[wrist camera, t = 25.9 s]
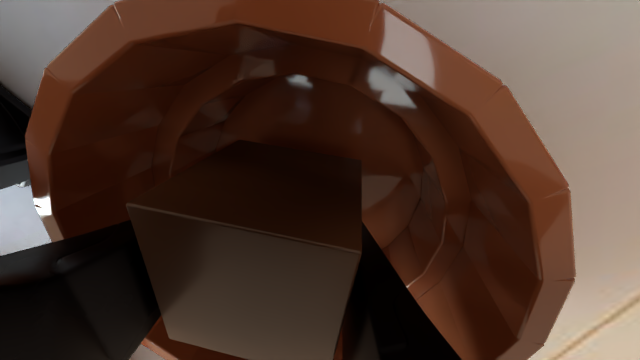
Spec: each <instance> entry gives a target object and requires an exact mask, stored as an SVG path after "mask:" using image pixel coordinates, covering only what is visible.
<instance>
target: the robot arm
mask: <svg viewBox="0 0 640 360" xmlns="http://www.w3.org/2000/svg"><path fill="white" fill-rule="evenodd" d="M31 112H32V110H31V109H29V108H28V107H27V106H25V105H24V104H23V103H22V102H20V101H19V100H18V99H17V98H15V97H14V96H13V95H12V94H10V93H9V92H8V91H7V90H5V89H4V88H3V87H2V86H0V189H3V188H6V187H9V186H12V185H16V186H18V187H21V188H23V187H26V186H29V185H31V181H30V174H29V167H28V160H27V153H26V146H25V139H26V138H25V137H24V136H25V133H26V130H27V126H28V123H29V119H30V116H31ZM160 316H161V312H160V309H159V306H158V303H157V300H156V297H155V294H154V291H153V288H152V284H151V281H150V278H149V275H148V272H147V269H146V266H145V263H144V260H143V257H142V254H141V250H140V247H139V244H138V241H137V238H136V235H135V232H134V229H133V226H132V223H131V220H128V221H124V222H121V223H119V224H115V225H111V226H108V227H105V228H102V229H98V230H95V231H92V232H88V233H85V234H81V235H78V236H74V237H71V238H67V239H63V240H60V241H56V242H52V243H48V244H45V245H41V246H37V247H33V248H29V249H26V250H22V251H18V252H14V253H11V254H7V255H3V256H0V360H129V359H130V357H131V356H132V355H133V353H134V352H135V351H136V349H137V348H138V346H139V345H140V344H141V342H142V341H143V340H144V338H145V337H146V335H147V334H148V333H149V331H150V330H151V329H152V327H153V326H154V324H155V323H156V322H157V320H158V319H159V318H160ZM342 360H462V359H461V358H460V357H459V355H458V354H457V353H456V352H455V350H454V349H453V348H452V347H451V345H450V344H449V343H448V342H447V340H446V339H445V338H444V337H443V336H442V334H441V333H440V332H439V331H438V329H437V328H436V327H435V325H434V324H433V323H432V322H431V320H430V319H429V318H428V316H427V315H426V314H425V313H424V311H423V310H422V308H421V307H420V306H419V304H418V303H417V301H416V300H415V299H414V297H413V296H412V294H411V293H410V291H409V290H408V288H407V287H405V284H404V282H403V281H402V279H401V278H400V277H399V275H398V274H397V272H396V271H395V269H394V268H393V266H392V265H391V263H390V262H389V260H388V259H387V257H386V256H385V254H384V253H383V251H382V250H381V248H380V247H379V245H378V244H377V242H376V241H375V239H374V238H373V236H372V235H371V233H370V232H369V230H368V229H367V227H366V226H365V224H364V223H363V221H362V255H361V259H360V262H359V266H358V270H357V273H356V277H355V281H354V284H353V288H352V292H351V296H350V299H349V303H348V307H347V310H346V314H345V318H344V321H343V325H342Z"/></svg>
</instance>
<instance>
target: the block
mask: <svg viewBox="0 0 640 360" xmlns="http://www.w3.org/2000/svg"><path fill="white" fill-rule="evenodd" d="M126 207H127V210H128V213H129V217H130V220H131V223H132V226H133V229H134V232H135V235H136V238H137V241H138V244H139V247H140V250H141V254H142V257H143V260H144V263H145V266H146V269H147V272H148V275H149V278H150V281H151V284H152V288H153V291H154V294H155V297H156V300H157V303H158V306H159V309H160V312H161V315H162V318H163V321H164V325H165V328H166V331H167V334H168V337H169V339H172V340H176V341H180V342H184V343H188V344H191V345H195V346H199V347H203V348H207V349H210V350H214V351H218V352H222V353H226V354H229V355H233V356H237V357H241V358H244V359H248V360H333V358H334V355H335V351H336V347H337V343H338V340H339V336H340V332H341V329H342V325H343V321H344V318H345V314H346V310H347V307H348V303H349V299H350V296H351V292H352V288H353V284H354V281H355V277H356V273H357V270H358V266H359V262H360V259H361V255H362V161H361V160H357V159H352V158H346V157H340V156H334V155H328V154H322V153H316V152H310V151H304V150H298V149H292V148H286V147H281V146H275V145H269V144H263V143H257V142H251V141H245V140H237V141H236V142H234V143H232V144H230V145H229V146H227V147H225V148H223V149H221V150H220V151H218V152H216V153H214V154H213V155H211V156H209V157H207V158H206V159H204V160H202V161H200V162H199V163H197V164H195V165H193V166H191V167H190V168H188V169H186V170H184V171H183V172H181V173H179V174H177V175H176V176H174V177H172V178H170V179H168V180H167V181H165V182H163V183H161V184H160V185H158V186H156V187H154V188H153V189H151V190H149V191H147V192H145V193H144V194H142V195H140V196H138V197H137V198H135V199H133V200H131V201H130V202H128V203H127V204H126Z"/></svg>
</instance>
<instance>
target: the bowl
mask: <svg viewBox="0 0 640 360" xmlns="http://www.w3.org/2000/svg"><path fill="white" fill-rule="evenodd" d="M502 84H503V83H502V81H501V80H500V79H499V78H497V77H496V76H494V75H493V74H491V73H490V72H488V71H487V70H485V69H483V68H482V67H480V66H479V65H477V64H476V63H474V62H473V61H471V60H470V59H468V58H467V57H465V56H464V55H462V54H461V53H459V52H458V51H456V50H455V49H453V48H452V47H450V46H449V45H447V44H446V43H444V42H443V41H441V40H440V39H438V38H437V37H435V36H434V35H432V34H431V33H429V32H428V31H426V30H425V29H423V28H422V27H420V26H419V25H417V24H416V23H414V22H413V21H411V20H410V19H408V18H407V17H405V16H404V15H402V14H401V13H399V12H398V11H396V10H395V9H393V8H392V7H390V6H388V5H387V4H385V3H380V4H379V1H378V0H120V1H116V2H114V5H110V6H108V7H107V8H106V9H105V10H104V11H103V12H102V13H101V14H100V15H99V16H98V17H97V18H96V19H95V20H94V21H93V22H92V23H91V24H90V25H88V26H87V27H86V28H85V29H84V30H83V31H82V32H81V33H80V34H79V35H78V36H77V37H76V38H75V39H74V40H73V41H72V42H71V43H70V44H69V45H68V46H66V47H65V48H64V49H63V50H62V51H61V52H60V53H59V54H58V55H57V56H56V57H55V58H54V59H53V60H52V61H51V62H50V63H49V64H48V65H47V68H45V69H44V71H43V74H42V78H41V81H40V85H39V88H38V92H37V95H36V99H35V102H34V105H33V109H32V112H31V116H30V119H29V123H28V126H27V130H26V133H25V136H24V137H25V138H26V139H25V146H26V153H27V160H28V167H29V174H30V181H31V188H32V195H33V202H34V204H35V208H36V210H37V212H38V214H39V216H40V218H41V220H42V222H43V224H44V226H45V228H46V231H47V233H48V235H49V237H50V239H51V241H52V242H56V241H60V240H63V239H67V238H71V237H74V236H78V235H81V234H85V233H88V232H92V231H95V230H98V229H102V228H105V227H108V226H111V225H115V224H119V223H121V222H124V221H128V220H130V217H129V213H128V210H127V207H126V204H127V203H128V202H130V201H131V200H133V199H135V198H137V197H138V196H140V195H142V194H144V193H145V192H147V191H149V190H151V189H153V188H154V187H156V186H158V185H160V184H161V183H163V182H165V181H167V180H168V179H170V178H172V177H174V176H176V175H177V174H179V173H181V172H183V171H184V170H186V169H188V168H190V167H191V166H193V165H195V164H197V163H199V162H200V161H202V160H204V159H206V158H207V157H209V156H211V155H213V154H214V153H216V152H218V151H220V150H221V149H223V148H225V147H227V146H229V145H230V144H232V143H234V142H236V141H237V140H245V141H251V142H257V143H263V144H269V145H275V146H281V147H286V148H292V149H298V150H304V151H310V152H316V153H322V154H328V155H334V156H340V157H346V158H352V159H357V160H361V161H362V221H363V223H364V224H365V226H366V227H367V229H368V230H369V232H370V233H371V235H372V236H373V238H374V239H375V241H376V242H377V244H378V245H379V247H380V248H381V250H382V251H383V253H384V254H385V256H386V257H387V259H388V260H389V262H390V263H391V265H392V266H393V268H394V269H395V271H396V272H397V274H398V275H399V277H400V278H401V279H402V281H403V282H404V284H405V287H407V288H408V290H409V291H410V293H411V294H412V296H413V297H414V299H415V300H416V301H417V303H418V304H419V306H420V307H421V308H422V310H423V311H424V313H425V314H426V315H427V316H428V318H429V319H430V320H431V322H432V323H433V324H434V325H435V327H436V328H437V329H438V331H439V332H440V333H441V334H442V336H443V337H444V338H445V339H446V340H447V342H448V343H449V344H450V345H451V347H452V348H453V349H454V350H455V352H456V353H457V354H458V355H459V357H460V358H461V359H462V360H527V359H529V358H530V357H531V356H532V355H533V354H535V353H536V352H537V351H538V350H539V349H541V348H542V347H543V346H544V343H545V342H546V341H547V338H548V336H549V334H550V332H551V330H552V328H553V326H554V324H555V322H556V320H557V318H558V315H559V313H560V311H561V309H562V307H563V305H564V303H565V301H566V299H567V297H568V295H569V293H570V290H571V288H572V286H573V284H574V282H575V279H574V278H575V277H576V270H575V255H574V239H573V224H572V208H571V192H570V190H569V188H568V187H569V185H568V183H567V181H566V179H565V178H564V176H563V175H562V173H561V171H560V170H559V168H558V167H557V165H556V163H555V162H554V160H553V159H552V157H551V155H550V154H549V152H548V151H547V149H546V147H545V146H544V144H543V143H542V141H541V139H540V138H539V136H538V135H537V133H536V131H535V130H534V128H533V127H532V125H531V123H530V122H529V120H528V119H527V117H526V115H525V114H524V112H523V111H522V109H521V107H520V106H519V104H518V103H517V101H516V99H515V98H514V96H513V95H512V93H511V91H510V90H509V88H508V87H507V86H505V85H502ZM141 344H142V345H144V346H146V347H147V348H149V349H150V350H152V351H153V352H155V353H156V354H158V355H159V356H161V357H163V358H164V359H166V360H248V359H244V358H241V357H237V356H233V355H229V354H226V353H222V352H218V351H214V350H210V349H207V348H203V347H199V346H195V345H191V344H188V343H184V342H180V341H176V340H172V339H169V337H168V334H167V331H166V328H165V325H164V321H163V318H162V315H161V316H160V318H159V319H158V320H157V322H156V323H155V324H154V326H153V327H152V329H151V330H150V331H149V333H148V334H147V335H146V337H145V338H144V340H143V341H142V342H141ZM333 360H342V329H341V332H340V336H339V340H338V343H337V347H336V351H335V355H334V358H333Z"/></svg>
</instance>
